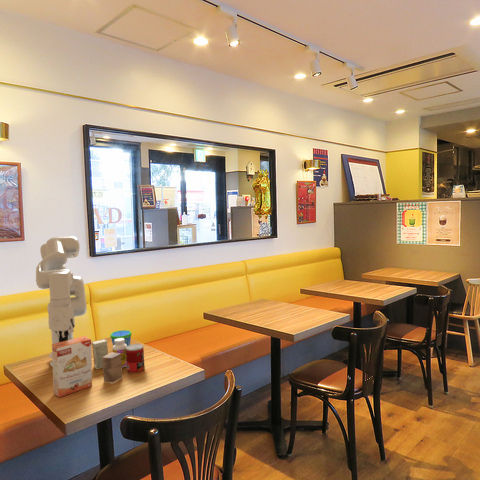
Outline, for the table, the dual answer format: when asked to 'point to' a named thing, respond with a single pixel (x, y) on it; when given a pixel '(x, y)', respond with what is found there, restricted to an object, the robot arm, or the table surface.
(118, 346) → the supplement bottle
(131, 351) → the canned food
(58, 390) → the cracker box
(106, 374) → the walnut block
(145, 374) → the table surface
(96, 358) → the skincare box
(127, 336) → the snack cup
